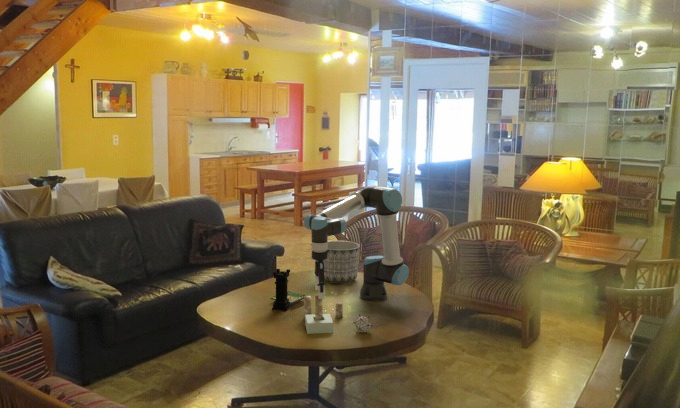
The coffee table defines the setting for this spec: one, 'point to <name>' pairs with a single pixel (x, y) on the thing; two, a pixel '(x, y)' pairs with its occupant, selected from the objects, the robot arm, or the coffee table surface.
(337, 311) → the pin short
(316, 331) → the collar block
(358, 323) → the spiky lattice ball
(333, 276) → the planter
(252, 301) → the coffee table surface
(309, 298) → the pin medium
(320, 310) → the pin long
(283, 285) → the chess piece
